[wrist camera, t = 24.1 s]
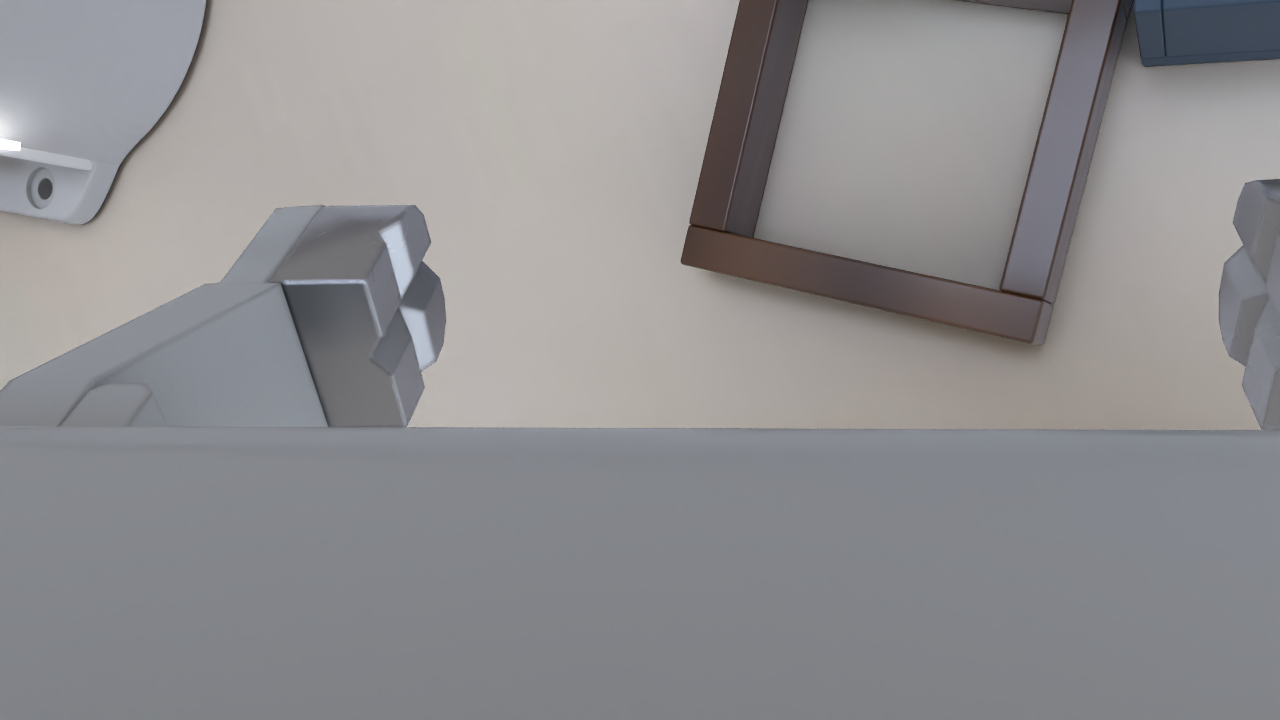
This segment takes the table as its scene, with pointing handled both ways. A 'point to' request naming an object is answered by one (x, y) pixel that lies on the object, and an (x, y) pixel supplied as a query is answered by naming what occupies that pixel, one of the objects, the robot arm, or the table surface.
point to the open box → (1207, 31)
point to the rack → (1011, 313)
